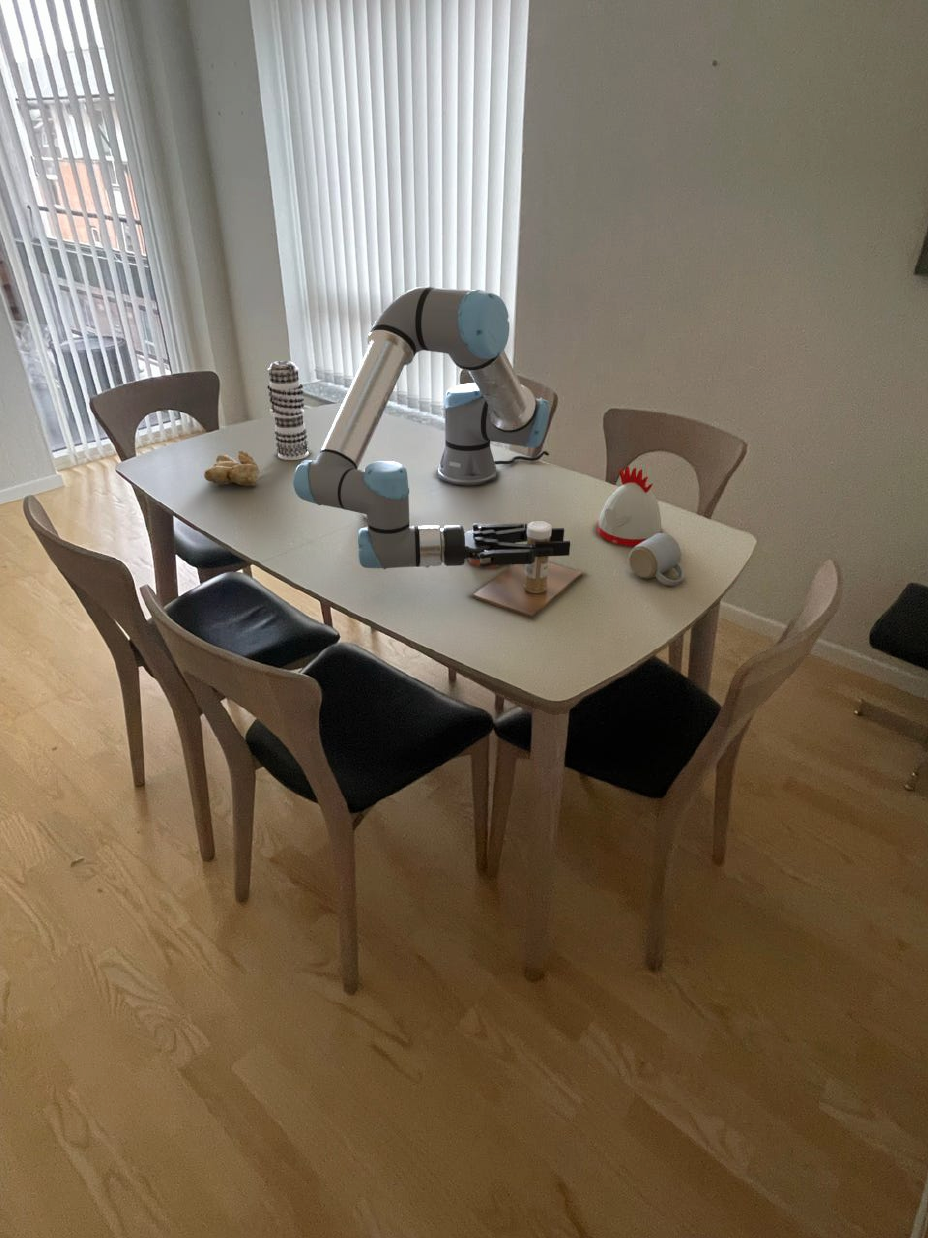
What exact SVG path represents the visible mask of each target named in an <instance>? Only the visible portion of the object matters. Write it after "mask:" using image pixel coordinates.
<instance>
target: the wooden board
mask: <svg viewBox="0 0 928 1238" xmlns="http://www.w3.org/2000/svg"><path fill="white" fill-rule="evenodd" d="M582 575H583V572H581V571H578V570H575V569H571V568H568V567H565V566H563V565H559V564H556V563H552V562H549V561H548V574H547V589H546V590H545V591H544V592H542V593H531V592H528V591H527V590H525V588H524V584H525V564H514V565H511V566H510V567H508V568H507V569H506V570H504V571H503V572H502V573H500V574H499V575H497V577H495V578H494V579H493V580H491V581H490V582H488V583H486V585H484V586H483V587H481V588H480V589H479V590H478V591H476V592H474V593H473V595H472V597H473V598H474V599H477V600H479V601H483V602H486V603H489V604H492V605H493V606H496V607H498V608H499V607H500V608H502V609H506V610H508V611H511V612H512V613H517V614H519V615H522V616H524V617H527V618H530V619H533V618H534V617H535V616H536V615H537V614H538V613H539V612H541V611H542V610H543V609H544V608H545V607H547V606H548V605H549V604H550V603H551V602H552V601H553V600H555V599H556V598H557V597H558V596H560V594H561V593H563V592H564V591H565V590H566V589H568V588H569V587H570V586H571V585H572V584H574V583H575V582H576V581H577V580H578V579H579V578H580V577H581V576H582Z"/></svg>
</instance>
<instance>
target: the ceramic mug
mask: <svg viewBox="0 0 928 1238" xmlns="http://www.w3.org/2000/svg"><path fill="white" fill-rule="evenodd" d="M681 560H682V549H681V547H680V545H679V543H678V541H677V540H676V539H675V537H673V536H672V535H670V534H669V533H666V532H661V533H657V534H655V535H654V536H652V537H650V538H648V539H647V540H645V541H643V542H642V543H640V544H638V545H637V546H633V548H632V549H631V550H630V552H629V555H628V562H629V566H630V568H631V570H632V572H634V574H635V575H636V576H638V577H640V578H642V579H653V578H656V579H657V580H658V581H659V582H660V583H662V584H663V585H666V586H669V587H674V586H677V585H679V584H680V583H681V582H682V581H683V579H684V576H685V572H684V570H683V568H682V566H681V564H680V563H681ZM673 569H674V570H675V572H676V573H677V575H678V579H676V580H673V579H669V578H667V577H666V576H665V575H663V574H664V573H666V572H668V571H671V570H673Z"/></svg>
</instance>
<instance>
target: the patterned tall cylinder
mask: <svg viewBox="0 0 928 1238" xmlns="http://www.w3.org/2000/svg"><path fill="white" fill-rule="evenodd" d="M299 369H300V368H299V367H298V366H296V364H295V363H294V362H293V361H290V360H277V361H274V362H271V364H270V366H269V367H268V368H267V369H266V371H268V377H269V385H267V386H266V388H267V389H268V396H269V402H270V404H271V405H270V409H271V410H272V416H273V417H274V421H275V424H274V427H275V431H274V434H275V440H276V441H277V442H276V443H275V446H276V447H277V449H276V452H277V457H278V458H279V459H280V460H285V461H298V460H303V459H306V458H307V457H308V456H309V447H308V441H307V438H308V435H307V429H306V427H305V426H306V425H305V422H304V414H305V409H302V408H304V407H305V403H303V402H304V401H305V400H304V397H302V396H301V395H303V394H304V390H303V388H304V385H303V384H302V383H301V380H300V378H299Z"/></svg>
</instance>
